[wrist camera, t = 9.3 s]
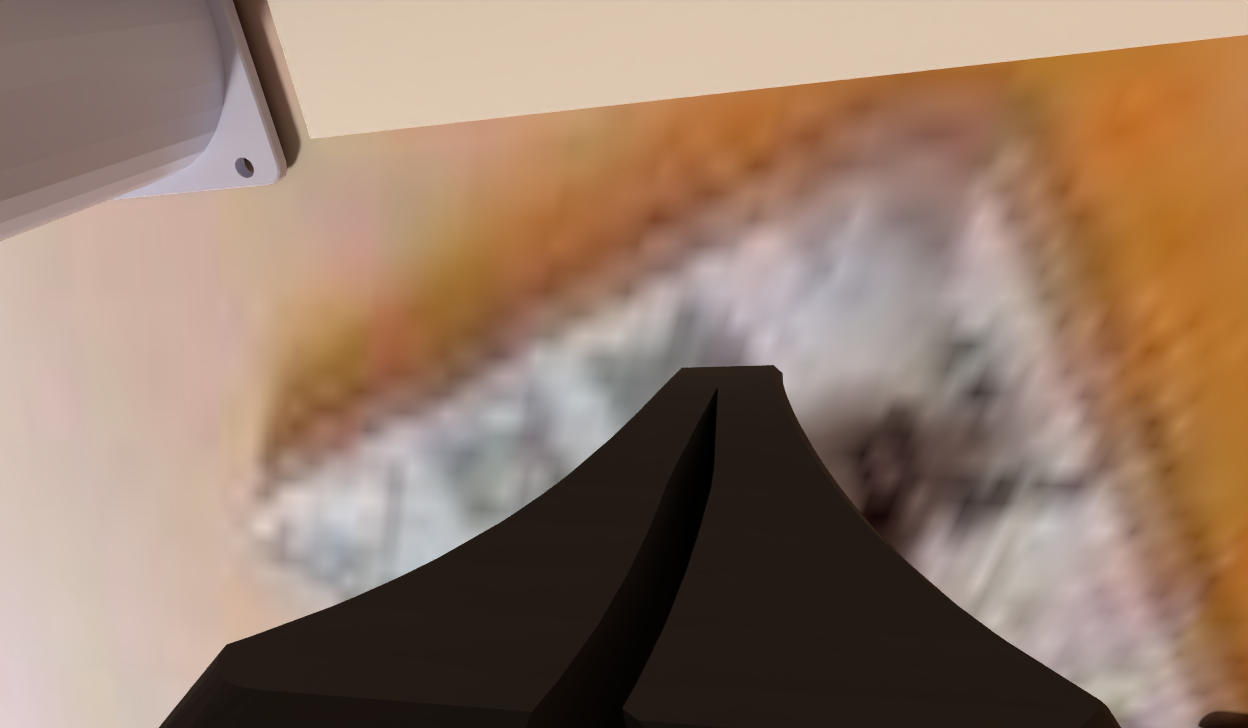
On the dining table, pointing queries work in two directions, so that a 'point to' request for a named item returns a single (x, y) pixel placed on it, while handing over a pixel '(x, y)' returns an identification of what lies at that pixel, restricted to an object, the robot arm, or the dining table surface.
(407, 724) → the robot arm
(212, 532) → the dining table surface
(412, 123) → the card
